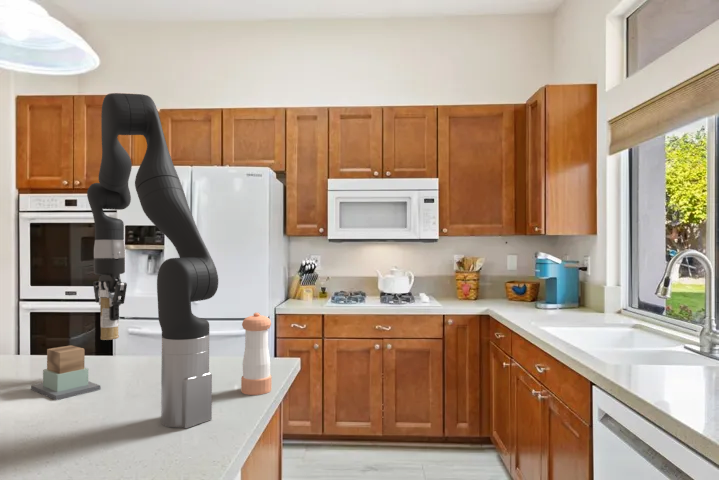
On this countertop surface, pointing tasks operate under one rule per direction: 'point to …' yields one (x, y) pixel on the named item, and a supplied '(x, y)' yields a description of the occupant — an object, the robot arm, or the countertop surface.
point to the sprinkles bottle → (107, 319)
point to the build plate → (66, 392)
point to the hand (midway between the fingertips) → (109, 319)
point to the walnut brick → (65, 359)
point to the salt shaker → (256, 356)
